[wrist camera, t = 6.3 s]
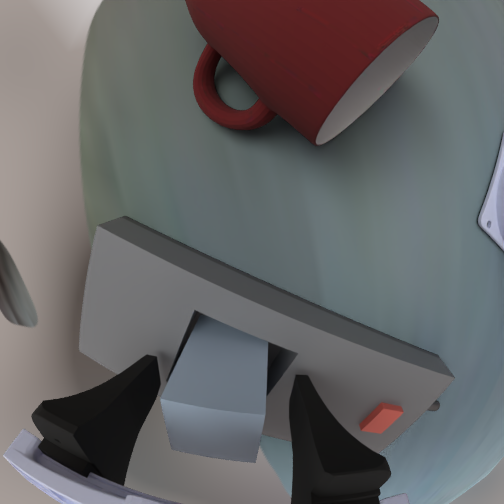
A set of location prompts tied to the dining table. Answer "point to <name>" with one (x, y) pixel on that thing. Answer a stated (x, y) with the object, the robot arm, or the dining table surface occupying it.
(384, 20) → the mug
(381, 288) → the dining table surface
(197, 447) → the block
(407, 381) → the power strip
